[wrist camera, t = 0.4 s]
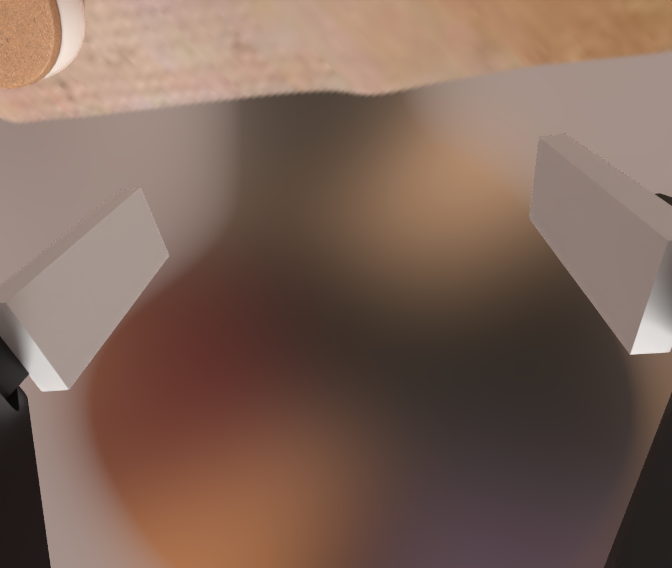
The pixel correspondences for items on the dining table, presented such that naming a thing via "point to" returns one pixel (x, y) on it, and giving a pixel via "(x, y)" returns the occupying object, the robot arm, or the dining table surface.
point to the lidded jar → (38, 39)
